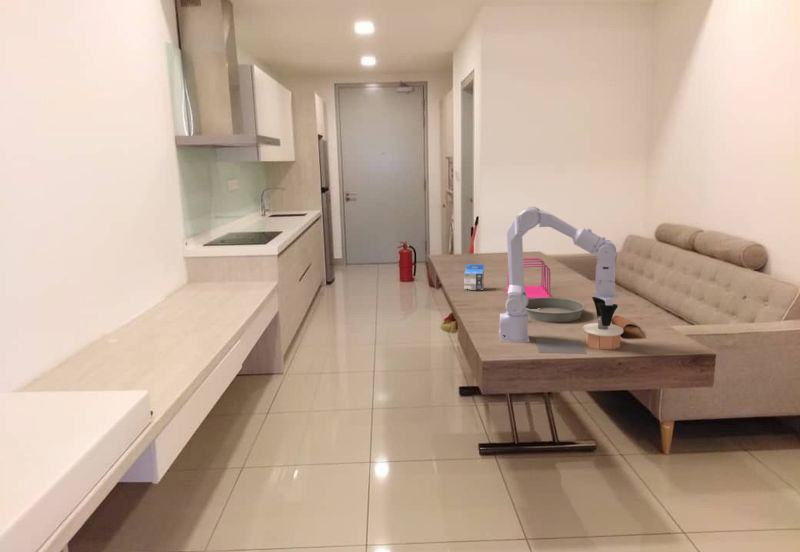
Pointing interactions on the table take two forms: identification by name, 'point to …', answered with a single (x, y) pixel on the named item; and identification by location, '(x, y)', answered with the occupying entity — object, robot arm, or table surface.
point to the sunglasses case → (628, 328)
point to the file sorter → (541, 290)
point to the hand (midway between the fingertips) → (603, 322)
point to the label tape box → (474, 277)
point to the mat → (560, 346)
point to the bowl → (603, 341)
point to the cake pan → (554, 309)
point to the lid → (602, 329)
